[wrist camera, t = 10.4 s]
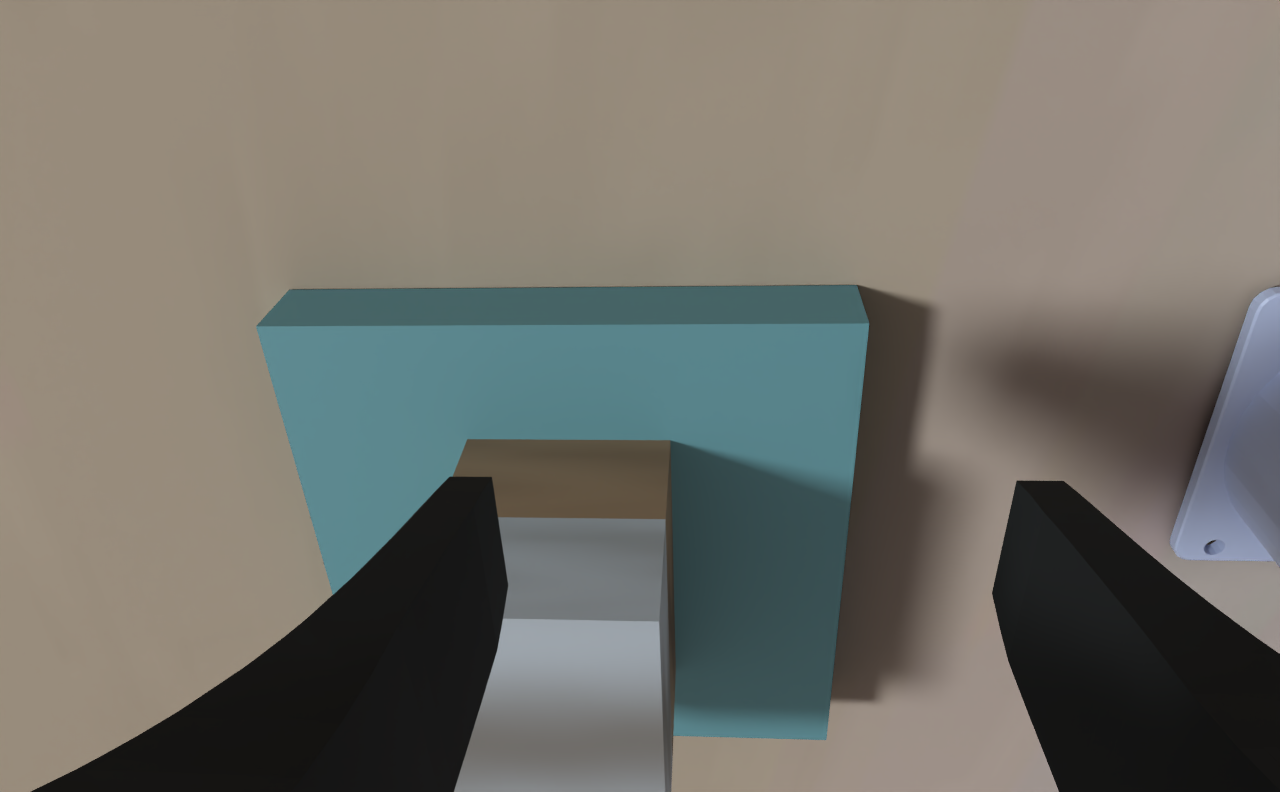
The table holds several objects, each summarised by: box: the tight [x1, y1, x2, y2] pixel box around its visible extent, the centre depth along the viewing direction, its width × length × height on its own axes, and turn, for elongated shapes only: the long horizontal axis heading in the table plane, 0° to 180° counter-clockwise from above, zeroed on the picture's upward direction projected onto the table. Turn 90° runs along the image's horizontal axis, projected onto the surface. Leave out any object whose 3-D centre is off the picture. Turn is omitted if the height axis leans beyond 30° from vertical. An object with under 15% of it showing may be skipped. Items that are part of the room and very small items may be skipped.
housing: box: [453, 439, 676, 792], centre depth 22 cm, size 8×5×6 cm, turn 2°
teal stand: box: [256, 285, 869, 740], centre depth 25 cm, size 14×14×2 cm
